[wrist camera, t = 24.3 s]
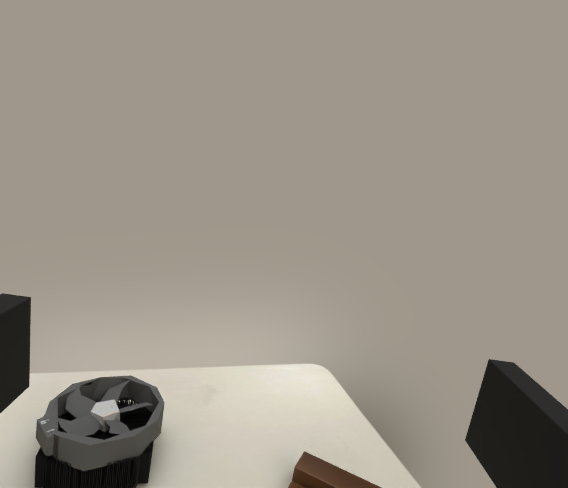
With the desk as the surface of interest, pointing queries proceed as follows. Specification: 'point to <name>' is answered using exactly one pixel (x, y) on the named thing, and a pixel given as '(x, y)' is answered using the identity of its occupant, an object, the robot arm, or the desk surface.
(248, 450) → the desk surface
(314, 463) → the tape holder
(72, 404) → the cpu cooler
